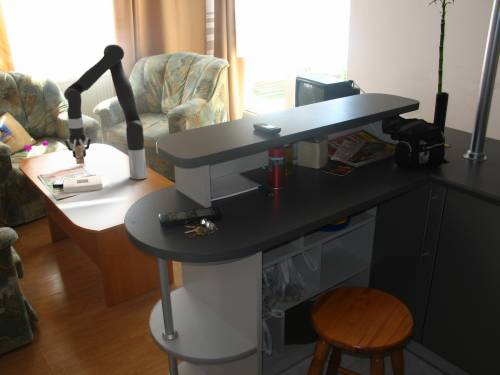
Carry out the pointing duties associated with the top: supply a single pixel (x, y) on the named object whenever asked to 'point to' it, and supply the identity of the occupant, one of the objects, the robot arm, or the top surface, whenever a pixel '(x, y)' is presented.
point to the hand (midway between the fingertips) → (79, 157)
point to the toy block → (28, 147)
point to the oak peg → (79, 154)
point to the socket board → (82, 184)
